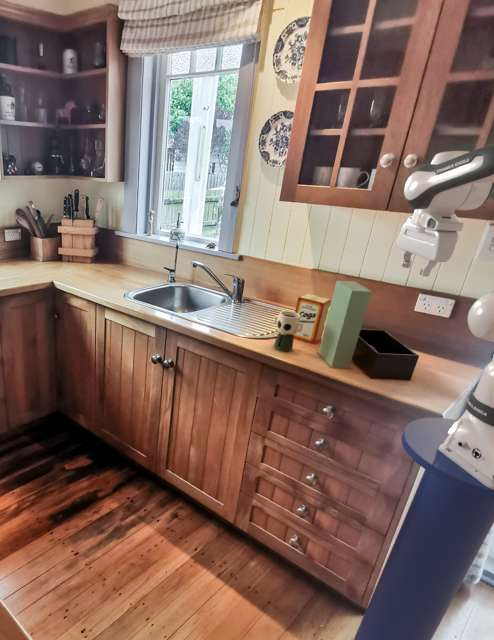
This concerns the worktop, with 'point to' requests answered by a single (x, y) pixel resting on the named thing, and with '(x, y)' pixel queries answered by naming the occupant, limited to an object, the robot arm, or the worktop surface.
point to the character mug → (287, 329)
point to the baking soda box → (311, 317)
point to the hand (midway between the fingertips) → (414, 271)
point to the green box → (344, 323)
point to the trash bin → (383, 356)
